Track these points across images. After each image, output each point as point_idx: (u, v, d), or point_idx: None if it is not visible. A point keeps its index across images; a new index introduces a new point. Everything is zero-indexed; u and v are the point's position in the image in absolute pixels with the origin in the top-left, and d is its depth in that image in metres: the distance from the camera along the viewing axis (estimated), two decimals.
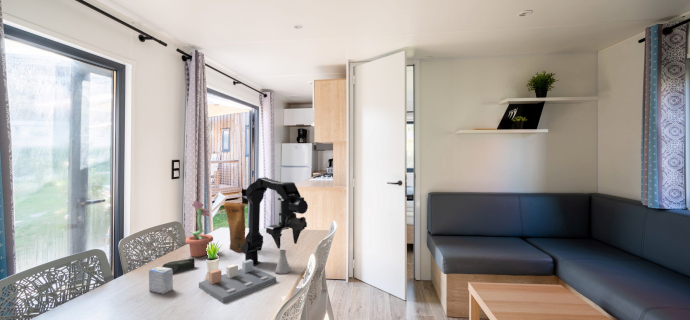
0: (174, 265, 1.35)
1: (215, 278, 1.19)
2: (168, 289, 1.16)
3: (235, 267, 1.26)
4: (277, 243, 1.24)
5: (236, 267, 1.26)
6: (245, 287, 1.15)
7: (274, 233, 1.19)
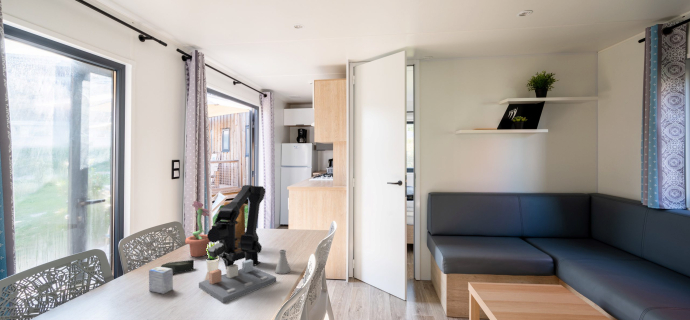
0: (172, 266, 1.33)
1: (215, 278, 1.19)
2: (168, 289, 1.16)
3: (235, 267, 1.26)
4: None
5: (236, 267, 1.26)
6: (245, 287, 1.15)
7: None
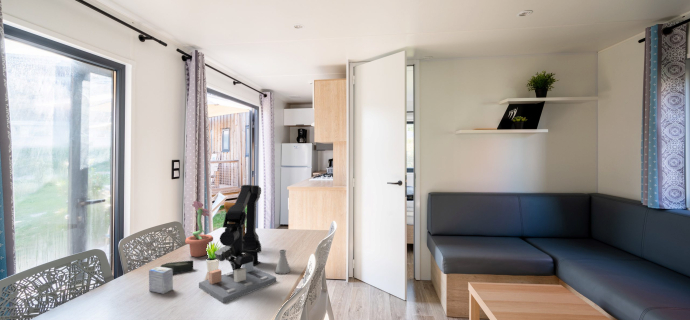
0: (171, 266, 1.33)
1: (215, 278, 1.19)
2: (168, 289, 1.16)
3: (243, 271, 1.22)
4: None
5: (244, 271, 1.22)
6: (245, 287, 1.15)
7: None
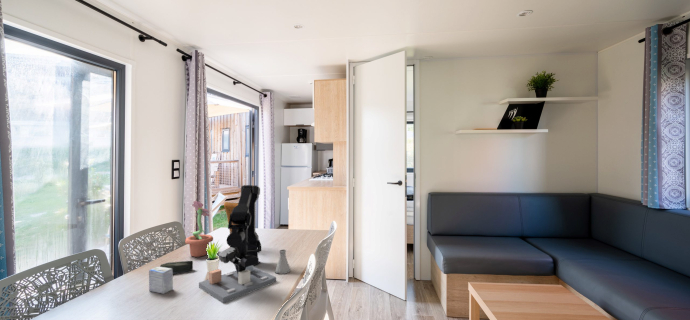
0: (170, 266, 1.33)
1: (215, 278, 1.19)
2: (168, 289, 1.16)
3: (247, 273, 1.19)
4: None
5: (248, 273, 1.20)
6: (245, 287, 1.15)
7: None
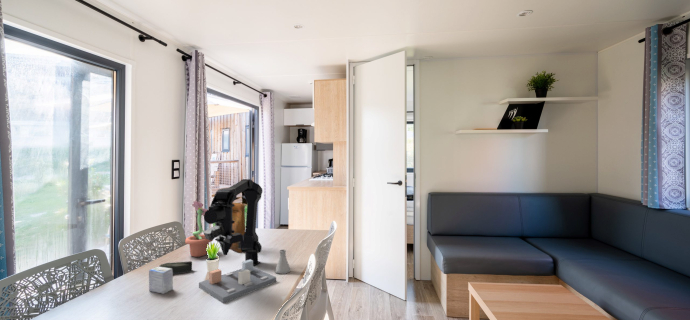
0: (169, 267, 1.32)
1: (215, 278, 1.19)
2: (168, 289, 1.16)
3: (247, 273, 1.19)
4: None
5: (248, 273, 1.20)
6: (245, 287, 1.15)
7: None
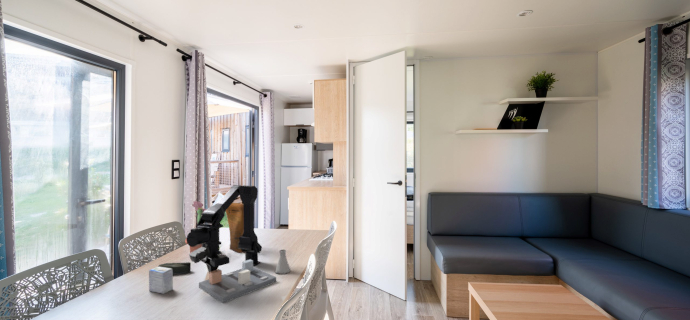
0: (167, 267, 1.32)
1: (215, 278, 1.19)
2: (168, 289, 1.16)
3: (247, 273, 1.19)
4: None
5: (248, 273, 1.20)
6: (245, 287, 1.15)
7: None
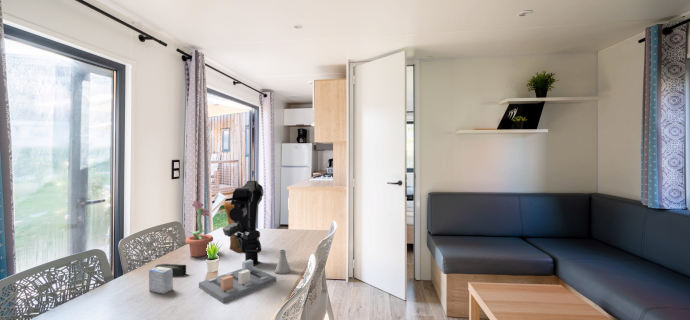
0: None
1: (227, 285, 1.13)
2: (168, 289, 1.16)
3: (247, 273, 1.19)
4: None
5: (248, 273, 1.20)
6: (245, 287, 1.15)
7: None
